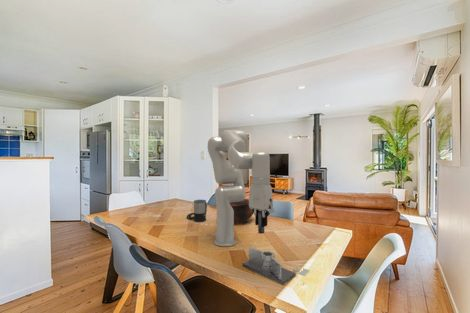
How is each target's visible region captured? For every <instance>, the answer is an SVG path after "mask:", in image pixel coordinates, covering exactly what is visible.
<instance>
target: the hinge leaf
mask: <svg viewBox="0 0 470 313" xmlns="http://www.w3.org/2000/svg"><path fill="white" fill-rule="evenodd" d="M261 264H262V265H264V266H271V272H272V273H273V274H274V275H275V276H276V277H277V278H278V279H280V280H281V267H282V263H281V262H279V261H278V260H276V259H274V258H273V257H271V261H264V260H262V259H261Z"/></svg>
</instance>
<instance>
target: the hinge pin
mask: <svg viewBox="0 0 470 313" xmlns="http://www.w3.org/2000/svg"><path fill="white" fill-rule="evenodd" d="M261 217H263V216H262V210H258V225H257V233H258V234H262V235H263V234H265V227H262V226H261Z"/></svg>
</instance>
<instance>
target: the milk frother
mask: <svg viewBox="0 0 470 313" xmlns="http://www.w3.org/2000/svg"><path fill="white" fill-rule="evenodd" d="M207 206H208V204H207V201H206V199H195V200H193V212H191V213H189V214H187V215H186V219H187V220H188V219H189V220H193V222H196V223H203V222H206V221H207V211H208V210H207ZM192 215H193V217H192Z"/></svg>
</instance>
